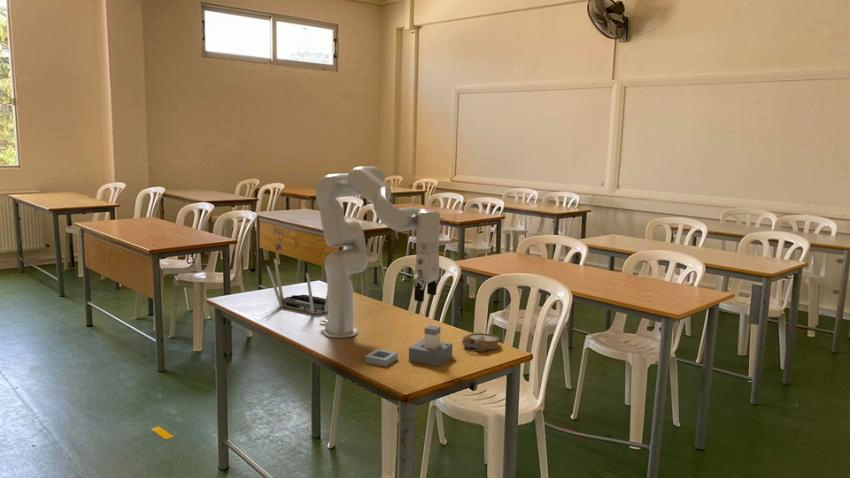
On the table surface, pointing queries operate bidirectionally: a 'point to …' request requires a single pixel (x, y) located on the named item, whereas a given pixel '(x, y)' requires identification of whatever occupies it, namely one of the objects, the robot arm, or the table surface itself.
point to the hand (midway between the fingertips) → (425, 297)
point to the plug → (432, 337)
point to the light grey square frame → (381, 357)
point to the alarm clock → (480, 341)
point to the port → (430, 353)
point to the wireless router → (299, 297)
